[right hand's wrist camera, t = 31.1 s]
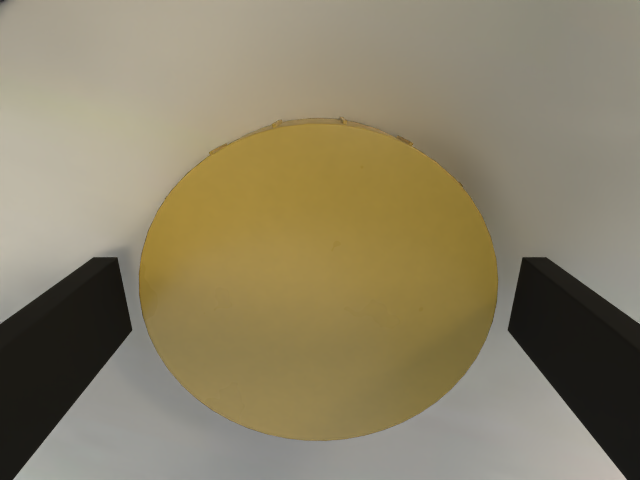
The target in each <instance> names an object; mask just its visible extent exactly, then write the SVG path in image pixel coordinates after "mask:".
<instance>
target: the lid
mask: <svg viewBox="0 0 640 480" xmlns="http://www.w3.org/2000/svg"><path fill="white" fill-rule="evenodd" d="M412 145H413V143H412V142H410V141H408V140H406V139H404V138H402V137H400V136H397V138H396V137H394V136H392V135H389V134H387V133H385V132H383V131H381V130H379V129H376V128H373V127H370V126H366V125H363V124H360V123H357V122H351V121H347V120H346V119H344V118H343V117H340V120H338V119H323V118H308V119H300V120H291V121H286V122H282V120H278V121H276V122H275V123H273V124H272V125H270V126H266V127H264V128H261V129H259V130H257V131H254V132H252V133H249V134H247V135H245V136H243V137H241V138H239V139H237V140H236V141H234V142H232V143H230V144H228V145H227V144H224V145H222V146H220V147H218V148H216V149H214V150H212V151H211V152H209V154H210V156H208V157H207V158H205V159H204V160H203V161H202V162H200V163H199V164H198V165H197V166H195V167H194V168H193V169H192V170H191V171H189V172H188V173H187V174H186V175H185V176H184V177H183V178H182V180H181V181H180V182H179V183H178V184H177V185H176V186H175V187H174V188H173V189H172V190H171V192H170V193H169V195H168V196H167V197H166V198H165V201H164V202H163V204H162V205H161V207H160V208H159V209H158V211H157V213H156V215H155V218H154V220H153V222H152V224H151V226H150V228H149V230H148V233H147V237H146V240H145V243H144V247H143V250H142V255H141V262H140V270H139V296H140V302H141V308H142V314H143V318H144V321H145V324H146V327H147V330H148V334H149V336H150V338H151V340H152V342H153V344H154V347H155V349H156V351H157V353H158V354H159V356H160V357H161V359H162V360H163V362H164V364H165V365H166V367H167V368H168V370H169V371H170V372H171V373H172V374H173V376H174V377H175V378H176V379H177V380H178V381H179V383H180V384H181V385H182V386H183V387H184V388H185V389H186V390H188V391H189V392H190V393H191V394H192V395H193V396H194V397H195V398H196V399H198V400H199V401H200V402H202V403H203V404H204V405H206V406H207V407H209V408H210V409H211V410H213V411H215V412H216V413H218V414H220V415H222V416H223V417H225V418H227V419H229V420H231V421H233V422H235V423H237V424H240V425H242V426H244V427H246V428H249V429H252V430H255V431H258V432H262V433H265V434H268V435H273V436H278V437H283V438H288V439H297V440H309V441H328V440H340V439H348V438H354V437H359V436H365V435H368V434H372V433H375V432H379V431H382V430H385V429H387V428H390V427H392V426H395V425H397V424H400V423H402V422H404V421H406V420H408V419H410V418H412V417H414V416H415V415H417V414H419V413H421V412H422V411H424V410H425V409H427V408H428V407H430V406H431V405H433V404H434V403H435V402H437V401H438V400H439V399H440V398H441V397H443V396H444V395H445V394H446V393H447V392H448V391H450V390H451V389H452V388H453V387H454V386H455V384H456V383H457V382H458V381H459V380H460V379H461V378H462V377H463V376H464V375H465V373H466V372H467V370H468V369H469V368H470V366H471V365H472V363H473V362H474V361H475V359H476V358H477V356H478V354H479V352H480V350H481V348H482V346H483V344H484V342H485V341H486V338H487V335H488V332H489V330H490V327H491V324H492V322H493V317H494V312H495V308H496V303H497V290H498V273H497V262H496V256H495V252H494V248H493V244H492V240H491V236H490V234H489V232H488V229H487V227H486V224H485V222H484V219H483V217H482V215H481V214H480V212H479V210H478V209H477V207H476V205H475V204H474V202H473V201H472V199H471V197H470V196H469V195H468V194H467V192H466V191H465V190H464V189H463V188H462V184H461V183H459V182H458V181H457V180H456V179H455V178H454V177H453V176H452V175H450V174H449V173H448V172H447V171H446V170H445V169H444V168H443V167H441V166H440V165H439V164H438V163H437V162H436V161H434V160H433V159H431V158H430V157H428V156H427V155H425V154H424V153H422V152H420V151H419V150H417V149H416V148H414V147H413V146H412Z"/></svg>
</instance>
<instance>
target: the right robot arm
mask: <svg viewBox="0 0 640 480" xmlns="http://www.w3.org/2000/svg"><path fill="white" fill-rule="evenodd" d="M131 331H132V326H131V321H130V316H129V312H128V307H127V302H126V297H125V292H124V287H123V282H122V278H121V273H120V268H119V263H118V258H117V257H93V258H92V259H91V260H89V261H88V262H86V263H85V264H84V265H82V266H81V267H79V268H78V269H77V270H75V271H74V272H72V273H71V274H70V275H68V276H67V277H65V278H64V279H63V280H61V281H60V282H59V283H57V284H56V285H54V286H53V287H52V288H50V289H49V290H47V291H46V292H45V293H43V294H42V295H40V296H39V297H38V298H36V299H35V300H33V301H32V302H31V303H29V304H28V305H26V306H25V307H24V308H22V309H21V310H19V311H18V312H17V313H15V314H14V315H12V316H11V317H10V318H8V319H7V320H5V321H4V322H3V323H1V324H0V480H13V479H14V478H15V476H16V475H17V474H18V473H19V471H20V470H21V469H22V468H23V466H24V465H25V464H26V463H27V461H28V460H29V459H30V458H31V456H32V455H33V454H34V453H35V451H36V450H37V449H38V448H39V446H40V445H41V444H42V443H43V441H44V440H45V439H46V438H47V436H48V435H49V434H50V433H51V431H52V430H53V429H54V428H55V426H56V425H57V424H58V423H59V421H60V420H61V419H62V418H63V416H64V415H65V414H66V413H67V411H68V410H69V409H70V408H71V406H72V405H73V404H74V403H75V401H76V400H77V399H78V398H79V396H80V395H81V394H82V393H83V391H84V390H85V389H86V388H87V386H88V385H89V384H90V382H91V381H92V380H93V379H94V377H95V376H96V375H97V374H98V372H99V371H100V370H101V369H102V367H103V366H104V365H105V364H106V362H107V361H108V360H109V359H110V357H111V356H112V355H113V354H114V352H115V351H116V350H117V349H118V347H119V346H120V345H121V344H122V342H123V341H124V340H125V339H126V337H127V336H128V335H129V334H130V332H131ZM508 331H509V332H510V334H511V335H512V336H513V337H514V339H515V340H516V341H517V342H518V344H519V345H520V346H521V347H522V349H523V350H524V351H525V352H526V354H527V355H528V356H529V357H530V359H531V360H532V361H533V362H534V364H535V365H536V366H537V367H538V369H539V370H540V371H541V372H542V374H543V375H544V376H545V377H546V379H547V380H548V381H549V383H550V384H551V385H552V386H553V388H554V389H555V390H556V391H557V393H558V394H559V395H560V396H561V398H562V399H563V400H564V401H565V403H566V404H567V405H568V406H569V408H570V409H571V410H572V411H573V413H574V414H575V415H576V416H577V418H578V419H579V420H580V421H581V423H582V424H583V425H584V426H585V428H586V429H587V430H588V431H589V433H590V434H591V435H592V436H593V438H594V439H595V440H596V441H597V443H598V444H599V445H600V446H601V448H602V449H603V450H604V451H605V453H606V454H607V455H608V456H609V458H610V459H611V460H612V461H613V463H614V464H615V465H616V466H617V468H618V469H619V470H620V471H621V473H622V474H623V475H624V476H625V478H626V479H627V480H640V324H639V323H637V322H636V321H635V320H633V319H632V318H630V317H629V316H628V315H626V314H625V313H623V312H622V311H621V310H619V309H618V308H616V307H615V306H614V305H612V304H611V303H609V302H608V301H607V300H605V299H604V298H602V297H601V296H600V295H598V294H597V293H595V292H594V291H593V290H591V289H590V288H588V287H587V286H586V285H584V284H583V283H581V282H580V281H579V280H577V279H576V278H575V277H573V276H572V275H570V274H569V273H568V272H566V271H565V270H563V269H562V268H561V267H559V266H558V265H556V264H555V263H554V262H552V261H551V260H549V259H548V258H547V257H523V258H522V263H521V268H520V273H519V278H518V282H517V287H516V292H515V297H514V302H513V307H512V312H511V316H510V321H509V326H508Z"/></svg>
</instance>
